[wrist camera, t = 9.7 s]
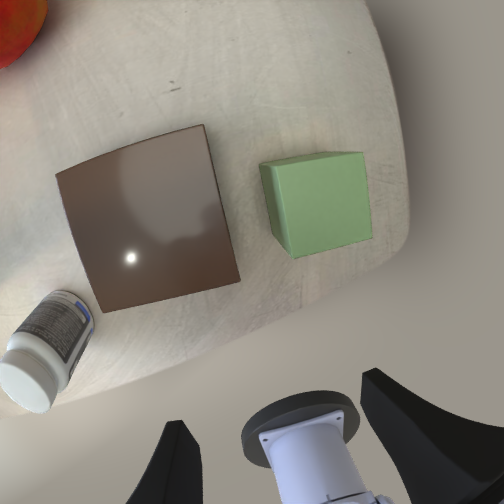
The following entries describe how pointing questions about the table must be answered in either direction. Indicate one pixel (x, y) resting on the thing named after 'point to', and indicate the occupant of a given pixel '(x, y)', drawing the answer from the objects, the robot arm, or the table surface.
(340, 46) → the table surface
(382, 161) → the table surface
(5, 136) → the table surface
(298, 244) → the green block
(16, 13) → the apple
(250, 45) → the table surface
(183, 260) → the walnut base
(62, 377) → the pill bottle
